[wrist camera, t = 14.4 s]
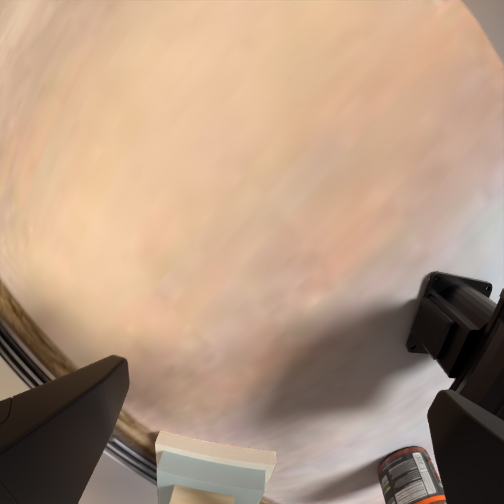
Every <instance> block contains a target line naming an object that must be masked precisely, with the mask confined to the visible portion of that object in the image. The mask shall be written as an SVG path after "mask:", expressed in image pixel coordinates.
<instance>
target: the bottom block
mask: <svg viewBox="0 0 504 504" xmlns="http://www.w3.org/2000/svg"><path fill="white" fill-rule="evenodd" d="M155 448H156V461H157V467H158V465H159V462H160V459H161V456H162V453H163V451H168V452H172V453H175V454H179V455H183V456H188V457H192V458H196V459H201V460H205V461H210V462H215V463H220V464H226V465H232V466H238V467H244V468H251V469H258V470H265V489H266V487H267V484H268V482H269V480H270V477H271V475H272V473H273V470H274V468H275V466H276V451H269V450H261V449H253V448H245V447H238V446H232V445H226V444H220V443H215V442H209V441H204V440H199V439H194V438H190V437H185V436H181V435H177V434H173V433H169V432H165V431H161V430H160V432H159V435H158V437H157V440H156V442H155ZM261 498H262V497H261ZM260 500H261V499H260ZM259 502H260V501H259ZM258 504H259V503H258Z"/></svg>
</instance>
